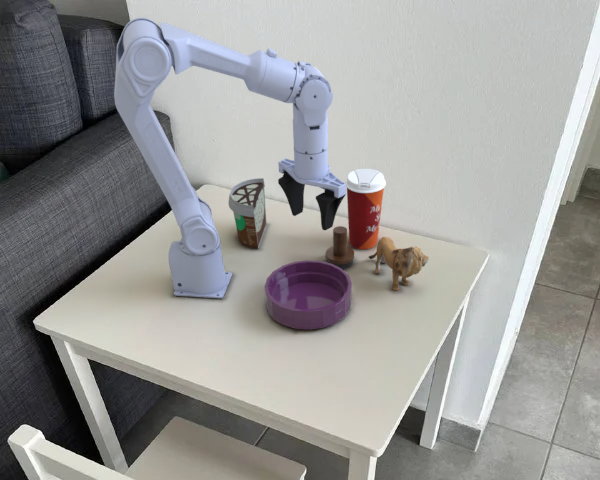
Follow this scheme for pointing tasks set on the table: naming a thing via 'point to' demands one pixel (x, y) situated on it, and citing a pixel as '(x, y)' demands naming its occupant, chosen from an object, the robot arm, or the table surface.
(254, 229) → the food container
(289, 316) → the bowl
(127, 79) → the robot arm
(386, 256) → the lion figurine
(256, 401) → the table surface
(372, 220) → the paper cup
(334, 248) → the brown stamp
